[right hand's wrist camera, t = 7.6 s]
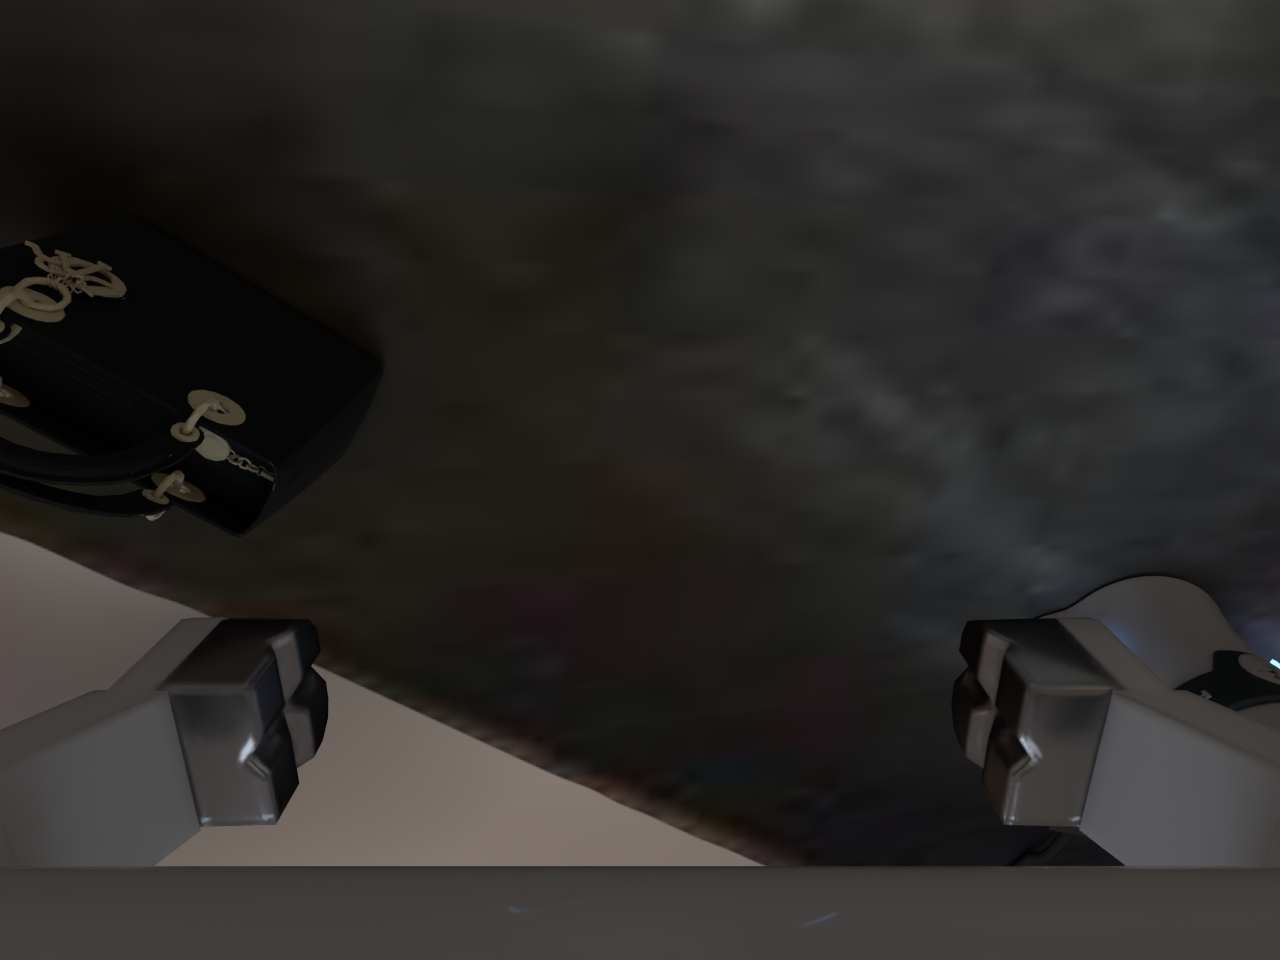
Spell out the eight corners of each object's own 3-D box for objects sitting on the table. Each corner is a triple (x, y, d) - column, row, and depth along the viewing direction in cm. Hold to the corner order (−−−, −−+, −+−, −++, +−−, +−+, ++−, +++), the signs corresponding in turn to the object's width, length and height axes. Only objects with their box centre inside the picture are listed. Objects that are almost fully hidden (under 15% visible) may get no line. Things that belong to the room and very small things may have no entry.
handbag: (401, 370, 58) (237, 503, 34) (345, 471, 60) (157, 659, 37) (121, 203, 54) (-282, 225, 30) (74, 319, 56) (-328, 422, 33)
